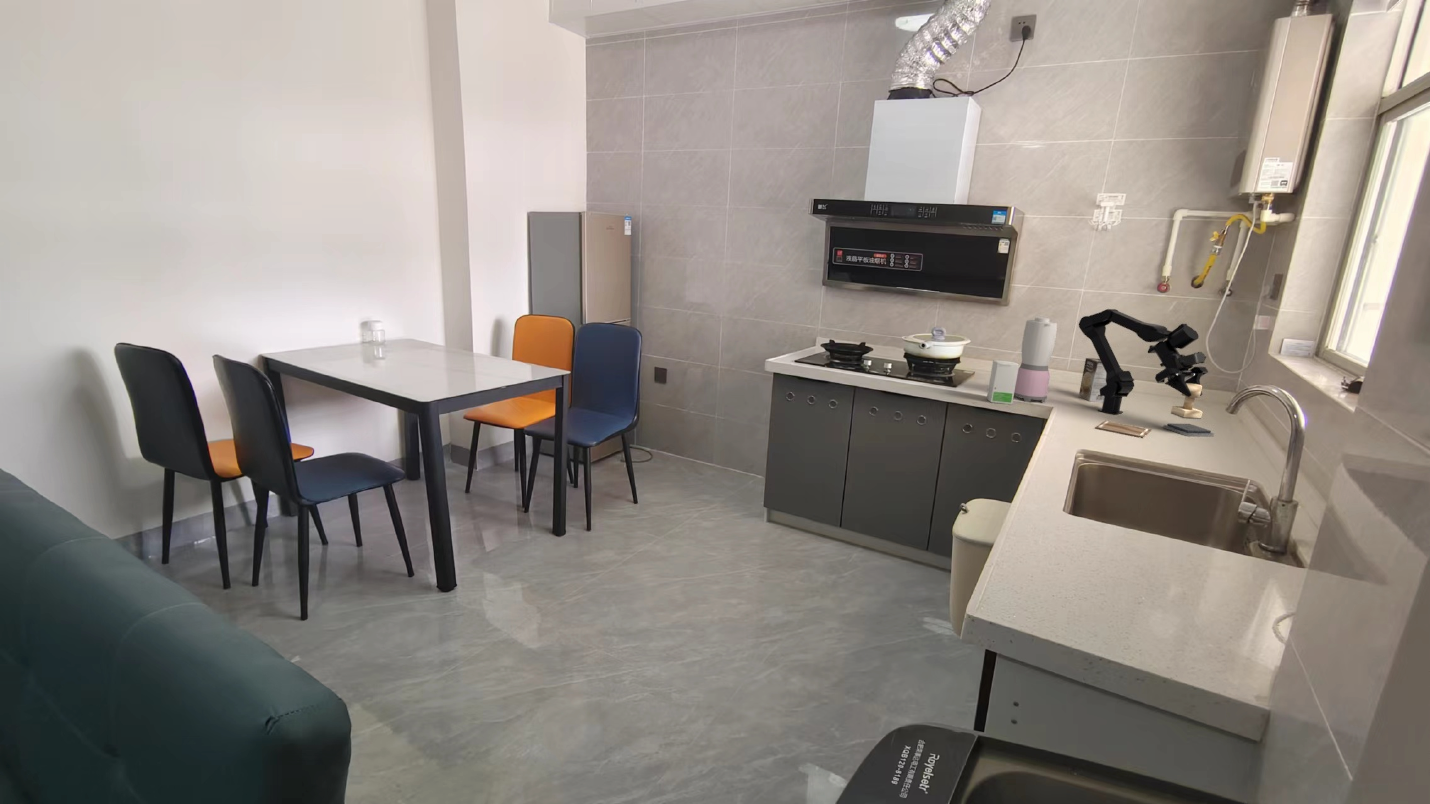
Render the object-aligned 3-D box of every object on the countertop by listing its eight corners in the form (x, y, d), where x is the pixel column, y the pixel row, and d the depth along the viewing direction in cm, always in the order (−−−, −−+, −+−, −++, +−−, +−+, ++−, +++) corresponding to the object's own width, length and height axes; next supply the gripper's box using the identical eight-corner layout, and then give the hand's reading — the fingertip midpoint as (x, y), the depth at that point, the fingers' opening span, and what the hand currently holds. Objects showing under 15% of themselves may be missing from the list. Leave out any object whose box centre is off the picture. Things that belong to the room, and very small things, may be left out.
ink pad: (1186, 436, 221) (1187, 431, 221) (1163, 427, 231) (1164, 422, 230) (1213, 436, 223) (1214, 431, 222) (1188, 427, 232) (1189, 423, 232)
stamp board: (1143, 438, 216) (1143, 436, 216) (1094, 428, 225) (1095, 427, 225) (1151, 430, 226) (1151, 429, 226) (1104, 421, 235) (1105, 420, 235)
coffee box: (1077, 396, 275) (1084, 357, 271) (1093, 397, 275) (1100, 358, 271) (1089, 401, 266) (1096, 361, 262) (1105, 402, 266) (1113, 362, 262)
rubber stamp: (1183, 418, 221) (1191, 386, 219) (1170, 413, 227) (1178, 382, 225) (1200, 419, 222) (1208, 387, 219) (1187, 414, 228) (1195, 383, 225)
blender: (1052, 403, 259) (1067, 320, 251) (1021, 402, 258) (1035, 319, 250) (1031, 394, 274) (1045, 316, 266) (1002, 393, 273) (1015, 314, 266)
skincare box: (990, 402, 255) (996, 362, 251) (985, 398, 261) (991, 359, 257) (1013, 404, 254) (1019, 364, 250) (1008, 400, 260) (1014, 361, 256)
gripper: (1171, 343, 218) (1198, 383, 211) (1208, 342, 225) (1235, 382, 218) (1143, 362, 227) (1168, 402, 220) (1180, 361, 234) (1205, 399, 227)
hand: (1195, 396), depth 221 cm, fingers closed on rubber stamp, 5 cm apart
